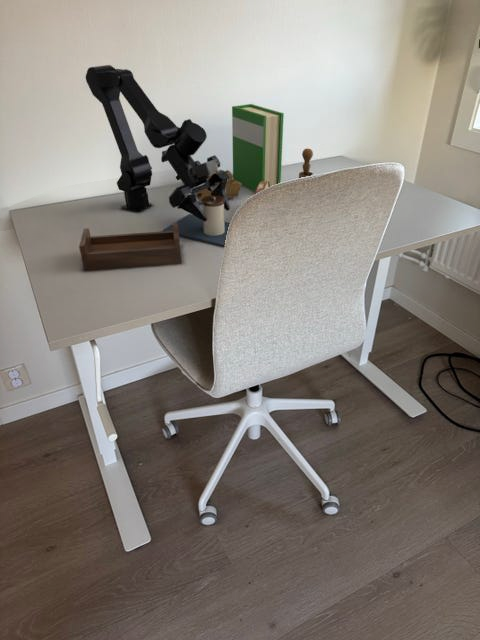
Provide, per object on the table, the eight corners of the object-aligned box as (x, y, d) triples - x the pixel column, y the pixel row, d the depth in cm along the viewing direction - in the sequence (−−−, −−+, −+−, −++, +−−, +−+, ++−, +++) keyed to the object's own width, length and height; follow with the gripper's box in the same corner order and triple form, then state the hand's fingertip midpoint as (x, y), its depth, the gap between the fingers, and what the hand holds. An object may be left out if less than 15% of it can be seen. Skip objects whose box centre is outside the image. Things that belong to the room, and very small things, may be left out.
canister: (205, 237, 125) (203, 201, 119) (201, 228, 130) (199, 193, 124) (227, 234, 126) (226, 199, 120) (222, 225, 131) (221, 191, 125)
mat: (162, 232, 129) (162, 230, 129) (189, 215, 138) (189, 213, 138) (225, 247, 121) (225, 245, 121) (248, 229, 130) (248, 227, 130)
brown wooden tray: (89, 252, 119) (83, 228, 115) (179, 245, 122) (177, 222, 118) (84, 271, 111) (78, 246, 107) (181, 263, 114) (179, 238, 110)
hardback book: (280, 190, 155) (283, 113, 142) (261, 195, 152) (263, 116, 138) (250, 176, 168) (251, 103, 154) (233, 180, 164) (232, 106, 150)
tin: (263, 223, 133) (263, 194, 128) (252, 222, 134) (252, 194, 129) (270, 204, 145) (271, 177, 141) (260, 203, 146) (261, 176, 141)
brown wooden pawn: (291, 206, 144) (294, 146, 133) (311, 205, 144) (316, 145, 134) (294, 214, 138) (298, 152, 128) (316, 213, 139) (322, 151, 128)
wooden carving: (236, 194, 153) (235, 163, 147) (243, 198, 150) (243, 167, 144) (190, 203, 146) (188, 171, 140) (196, 208, 143) (194, 176, 137)
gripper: (172, 155, 111) (209, 210, 112) (223, 139, 123) (256, 189, 124) (153, 181, 120) (188, 232, 120) (202, 164, 132) (233, 210, 132)
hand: (217, 215), depth 124 cm, fingers open, 9 cm apart
